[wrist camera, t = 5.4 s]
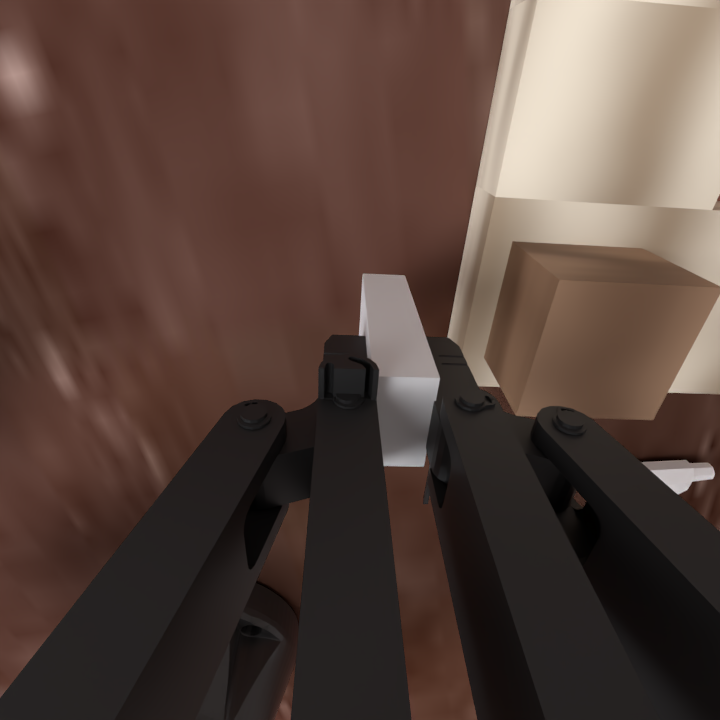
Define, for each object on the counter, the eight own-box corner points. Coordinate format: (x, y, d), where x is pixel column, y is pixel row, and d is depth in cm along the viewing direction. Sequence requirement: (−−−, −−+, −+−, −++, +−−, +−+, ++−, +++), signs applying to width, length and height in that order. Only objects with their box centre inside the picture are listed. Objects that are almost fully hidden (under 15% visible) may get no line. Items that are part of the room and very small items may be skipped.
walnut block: (483, 357, 18) (515, 416, 15) (512, 241, 16) (559, 279, 12) (595, 361, 19) (652, 420, 15) (642, 248, 16) (723, 287, 13)
